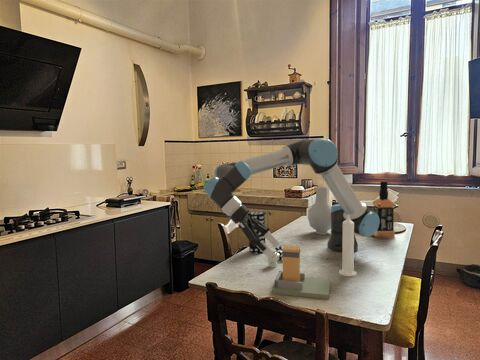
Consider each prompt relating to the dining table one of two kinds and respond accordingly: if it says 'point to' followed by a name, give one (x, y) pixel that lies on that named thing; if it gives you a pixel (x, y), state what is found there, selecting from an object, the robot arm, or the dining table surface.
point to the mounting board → (302, 286)
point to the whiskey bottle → (384, 213)
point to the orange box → (291, 263)
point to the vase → (320, 212)
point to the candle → (348, 249)
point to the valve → (275, 257)
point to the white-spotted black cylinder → (261, 218)
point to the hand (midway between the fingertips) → (275, 250)
